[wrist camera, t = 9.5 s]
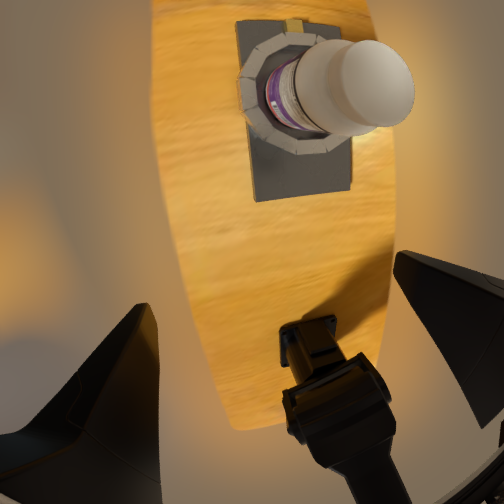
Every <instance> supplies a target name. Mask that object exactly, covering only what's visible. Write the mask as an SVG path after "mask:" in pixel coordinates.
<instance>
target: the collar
mask: <svg viewBox="0 0 504 504" xmlns="http://www.w3.org/2000/svg"><path fill="white" fill-rule="evenodd" d="M283 22H284V29H285V33H284V34H283V33H281V34H279V35H277V36H275V37H273V38H271V39H269V40H267V41H265V42H263V43H261V44H259V45H257V46H256V47H255V48H254V49H253V50H252V51H251V52H250V54H249V56H248V57H247V59H246V61H245V63H244V65H243V67H242V69H241V71H240V73H239V75H238V77H237V79H238V80H237V81H236V85H237V94H238V103H239V111H242V110H245V111H243V112H242V113H240V114H241V115H242V116H243V117H244V119H245V120H246V121H247V123H248V124H249V125H250V127H251V128H252V129H253V131H254V132H255V133H256V135H257V136H258V137H259V138H261V140H263V141H265V142H268V143H270V144H272V145H274V146H276V147H279V148H281V149H283V150H285V151H287V152H290V153H292V154H296V155H302V154H316V153H326V151H327V152H329V151H331V150H332V149H334V148H335V147H337V146H338V145H340V144H341V143H342V142H344V141H345V140H347V139H348V138H350V137H351V136H340V135H334V134H328V133H321V134H320V135H318V136H317V137H315V138H298V139H295V138H293V137H291V136H289V135H287V134H285V133H283V132H280V131H278V130H276V129H274V127H273V126H272V124H271V123H270V122H269V120H268V119H267V118H266V116H265V115H264V113H263V112H262V111H261V109H260V108H259V107H258V101H257V91H256V82H255V78H256V77H257V75H258V73H259V71H260V69H261V67H262V65H263V63H264V61H265V59H266V58H268V57H270V56H271V55H273V54H275V53H277V52H279V51H281V50H282V49H287V50H307V49H309V48H310V47H312V46H314V45H315V44H318V43H321V42H323V41H327V40H326V39H324V38H323V37H321V36H319V35H318V36H316V34H309V33H304V31H303V25H302V20H297V19H285V20H284V21H283Z"/></svg>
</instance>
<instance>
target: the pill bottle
mask: <svg viewBox="0 0 504 504" xmlns="http://www.w3.org/2000/svg"><path fill="white" fill-rule="evenodd" d="M414 94H415V90H414V82H413V79H412V75H411V73H410V70H409V68H408V67H407V65H406V63H405V62H404V60H403V59H402V58H401V56H400V55H399V54H398V53H397V52H396V51H394V50H393V49H392V48H391V47H389V46H387V45H385V44H384V43H381V42H378V41H373V40H364V41H359V42H356V43H355V42H351V41H348V40H340V39H332V40H327V41H323V42H321V43H318V44H315V45H314V46H312V47H310V48H309V49H307V50H305V51H304V52H302V53H300V54H299V55H297V56H295V57H294V58H292V59H290V60H288V61H287V62H285V63H283V64H282V65H280V66H279V67H278V68H276V69H275V70H274V71H273V73H272V74H271V75H270V77H269V79H268V81H267V85H266V100H267V104H268V106H269V108H270V110H271V112H272V113H273V115H274V116H275V117H276V118H277V119H278V120H279V121H280V122H282V123H283V124H285V125H287V126H289V127H291V128H294V129H299V130H306V131H315V132H322V133H328V134H334V135H340V136H359V135H364V134H366V133H369V132H371V131H372V130H374V129H376V128H377V127H391V126H394V125H397V124H399V123H401V122H402V121H403V120H404V119H405V118H406V117H407V116H408V114H409V113H410V111H411V109H412V106H413V103H414Z"/></svg>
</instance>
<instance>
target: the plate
mask: <svg viewBox="0 0 504 504" xmlns="http://www.w3.org/2000/svg"><path fill="white" fill-rule="evenodd" d="M302 25H303V31H304V33H309V34H316V36H318V35H319V36H321V37H323V38H324V39H326V40H332V39H340V40H341V35H340V28H339V27H335V26H328V25H321V24H312V23H302ZM235 30H236V39H237V47H238V56H239V65H240V71H241V69H242V67H243V65H244V63H245V61H246V59H247V57H248V56H249V54H250V52H251V51H252V50H253V49H254V48H255V47H256V46H257V45H259V44H261V43H263V42H265V41H267V40H269V39H271V38H273V37H275V36H277V35H279V34H281V33H283V34H284V33H285V29H284V22H283V21H236V23H235ZM304 51H305V50H287V49H282V50H281V51H279V52H277V53H275V54H273V55H271V56H270V57H268V58H266V59H265V61H264V63H263V65H262V67H261V69H260V71H259V73H258V75H257V77H256V78H255V82H256V91H257V101H258V107H259V108H260V109H261V111H262V112H263V113H264V115H265V116H266V118H267V119H268V120H269V122H270V123H271V124H272V126H273V127H274V129H276V130H278V131H280V132H283V133H285V134H287V135H289V136H291V137H293V138H295V139H298V138H315V137H317V136H318V135H320V134H321V133H322V132H315V131H306V130H299V129H294V128H291V127H289V126H287V125H285V124H283V123H282V122H280V121H279V120H278V119H277V118H276V117H275V116H274V115H273V113H272V112H271V110H270V108H269V106H268V104H267V100H266V85H267V81H268V79H269V77H270V75H271V74H272V73H273V71H274V70H275V69H276V68H278V67H279V66H280V65H282V64H283V63H285V62H287V61H288V60H290V59H292V58H294V57H295V56H297V55H299V54H300V53H302V52H304ZM246 129H247V138H248V148H249V157H250V167H251V176H252V186H253V196H254V200H255V202H262V201H269V200H276V199H283V198H290V197H298V196H305V195H313V194H322V193H330V192H339V191H348V190H350V138H348V139H347V140H345V141H344V142H342V143H341V144H340V145H338V146H337V147H335V148H334V149H332V150H331V151H329V152H327V151H326V153H316V154H302V155H296V154H292V153H290V152H287V151H285V150H283V149H281V148H279V147H276V146H274V145H272V144H270V143H268V142H265V141H263V140H261V138H259V137H258V136H257V135H256V133H255V132H254V131H253V129H252V128H251V127H250V125H249V124H248V123H247V121H246Z"/></svg>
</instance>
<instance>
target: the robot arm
mask: <svg viewBox="0 0 504 504" xmlns="http://www.w3.org/2000/svg"><path fill="white" fill-rule="evenodd" d="M393 274H394V277H395V279H396V280H397V282H398V284H399V285H400V287H401V289H402V291H403V293H404V294H405V296H406V298H407V300H408V302H409V303H410V305H411V307H412V308H413V310H414V311H415V313H416V314H417V316H418V317H419V319H420V320H421V322H422V323H423V325H424V326H425V328H426V329H427V331H428V332H429V334H430V336H431V337H432V339H433V340H434V342H435V344H436V345H437V347H438V348H439V350H440V352H441V353H442V355H443V357H444V358H445V360H446V362H447V364H448V365H449V367H450V369H451V371H452V372H453V374H454V376H455V378H456V379H457V381H458V383H459V385H460V387H461V389H462V391H463V393H464V395H465V397H466V399H467V401H468V403H469V405H470V407H471V409H472V411H473V413H474V415H475V417H476V420H477V422H478V424H479V426H480V428H481V429H483V428H484V427H485V426H486V425H487V424H488V423H489V422H490V421H491V420H492V419H493V418H495V416H497V414H499V412H500V411H501V410H502V409H503V408H504V280H502V279H498V278H496V277H492V276H489V275H486V274H483V273H482V274H481V273H480V272H477V271H474V270H471V269H468V268H465V267H462V266H458V265H455V264H452V263H448V262H445V261H442V260H439V259H435V258H432V257H429V256H425V255H422V254H419V253H415V252H412V251H408V250H403V251H399V252H397V254H396V257H395V262H394V268H393ZM336 323H337V318H336V316H335V315H330V316H327V317H323V318H319V319H315V320H311V321H308V322H304V323H300V324H295V325H291V326H287V327H283V328H281V329H280V330H279V344H280V364H281V367H289V366H290V368H291V371H292V373H293V376H294V378H295V381H296V383H297V386H294V387H292V388H290V389H285V390H283V391H282V393H283V398H282V399H283V400H282V403H283V406H284V409H285V412H286V423H287V431H288V433H289V434H290V435H292V436H295V438H296V439H297V440H298V441H299V443H300V444H301V445H305V444H307V446H308V448H309V450H310V452H311V454H312V456H313V458H314V459H315V461H316V462H317V463H318V464H320V465H321V466H322V467H324V468H329V469H331V470H332V471H334V472H336V473H338V474H339V475H341V476H343V477H344V478H345V480H346V482H347V484H348V486H349V488H350V490H351V493H352V495H353V497H354V499H355V501H356V504H412V502H411V500H410V497H409V495H408V493H407V491H406V488H405V486H404V484H403V482H402V480H401V477H400V475H399V473H398V471H397V469H396V467H395V465H394V463H393V461H392V458H391V456H390V451H391V446H392V440H393V436H394V435H395V432H396V421H395V418H394V416H393V414H392V411H391V409H390V407H389V405H388V403H390V402H391V401H392V399H391V395H390V392H389V390H388V388H387V385H386V383H385V381H384V380H383V378H382V377H381V375H380V374H379V373H378V371H377V370H376V369H375V367H374V366H373V365H372V364H371V363H370V361H369V360H368V359H367V358H366V356H365V355H364V354H363V353H362V352H360V353H358V354H357V355H356V356H355V357H353V358H351V359H349V360H347V359H346V357H345V355H344V353H343V352H342V350H341V348H340V347H339V345H338V343H337V342H336V340H335V338H334V337H335V331H336ZM159 375H160V363H159V348H158V328H157V323H156V320H155V317H154V315H153V312H152V310H151V307H150V305H149V304H148V303H140V304H136V305H135V306H134V307H133V308H132V309H131V310H130V311H129V312H128V314H126V316H125V317H124V318H123V319H122V320H121V321H120V322H119V323H118V324H117V325H116V327H115V328H114V329H113V330H112V331H111V332H110V333H109V334H108V335H107V337H106V338H105V339H104V340H103V341H102V342H101V344H100V345H99V346H98V347H97V348H96V349H95V350H94V351H93V352H92V354H91V355H90V356H89V357H88V358H87V359H86V361H85V362H84V363H83V364H82V365H81V366H80V368H79V369H78V371H77V372H75V373H74V375H73V376H72V377H71V378H70V380H69V381H68V382H67V383H66V384H65V385H64V386H63V388H62V389H61V390H60V391H59V392H58V393H57V394H56V395H55V396H54V397H53V398H52V399H51V400H50V401H49V402H48V404H47V405H46V406H45V407H44V408H43V409H42V410H41V411H40V412H39V413H38V414H37V415H36V416H35V417H34V418H33V419H32V420H31V421H30V422H29V423H28V424H27V425H26V426H25V427H24V428H22V429H20V430H19V431H16V432H14V433H8V434H2V435H0V504H163V503H162V493H161V485H160V483H161V480H160V463H159V421H158V420H159ZM484 500H485V501H486V503H487V504H504V420H503V421H502V422H501V429H500V439H499V449H498V450H497V451H496V452H495V453H494V454H493V455H492V456H491V457H490V458H489V459H488V460H487V461H486V462H485V463H484V464H483V465H482V466H480V467H479V468H478V469H477V470H476V471H475V472H474V473H473V474H472V475H470V476H469V477H468V478H467V479H466V480H464V481H463V482H462V483H461V484H460V485H458V486H457V487H456V488H454V489H453V490H452V491H450V492H449V493H448V494H446V495H445V496H444V497H442V498H441V499H439V500H438V501H437V502H435V503H434V504H481V503H482V502H483V501H484Z"/></svg>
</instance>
